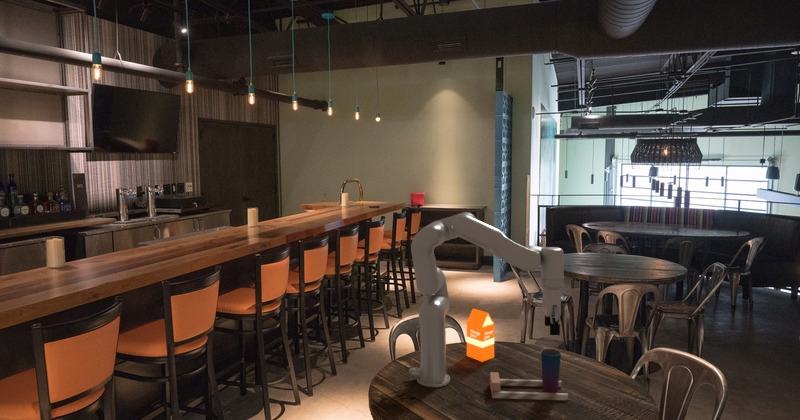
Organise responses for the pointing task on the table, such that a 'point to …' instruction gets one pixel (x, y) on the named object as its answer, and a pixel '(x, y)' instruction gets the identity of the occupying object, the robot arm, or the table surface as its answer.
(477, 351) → the orange juice
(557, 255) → the robot arm
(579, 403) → the table surface
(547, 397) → the track
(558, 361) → the cup
